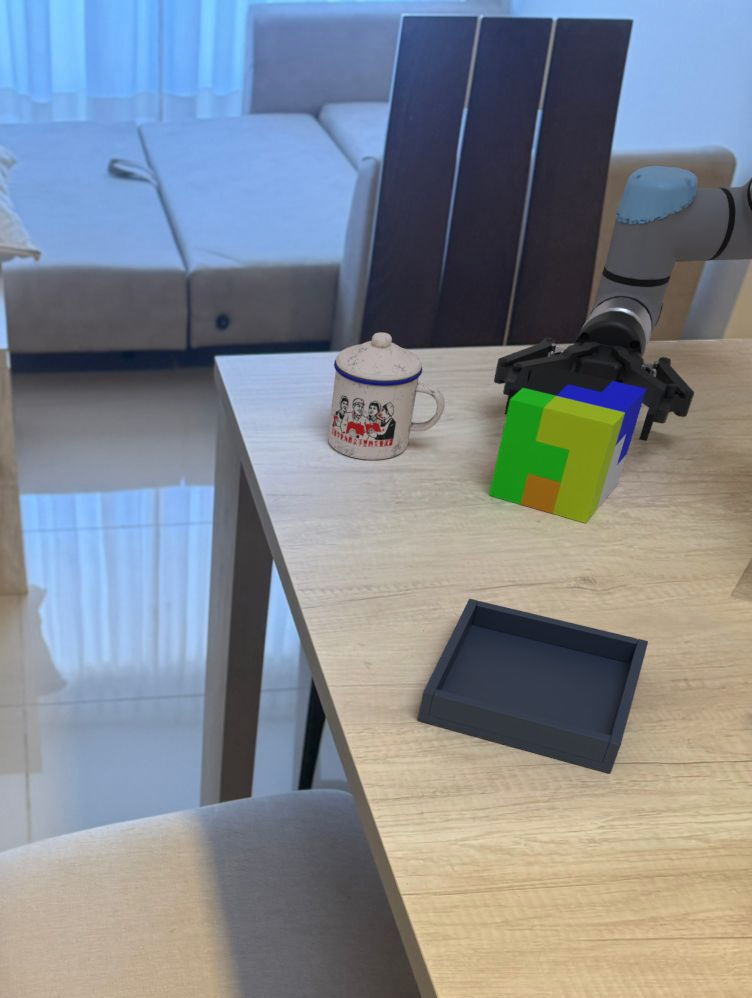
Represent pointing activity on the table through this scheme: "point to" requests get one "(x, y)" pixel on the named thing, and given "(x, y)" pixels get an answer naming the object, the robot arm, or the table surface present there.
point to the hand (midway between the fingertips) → (577, 414)
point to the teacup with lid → (377, 399)
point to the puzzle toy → (565, 442)
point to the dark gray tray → (535, 684)
